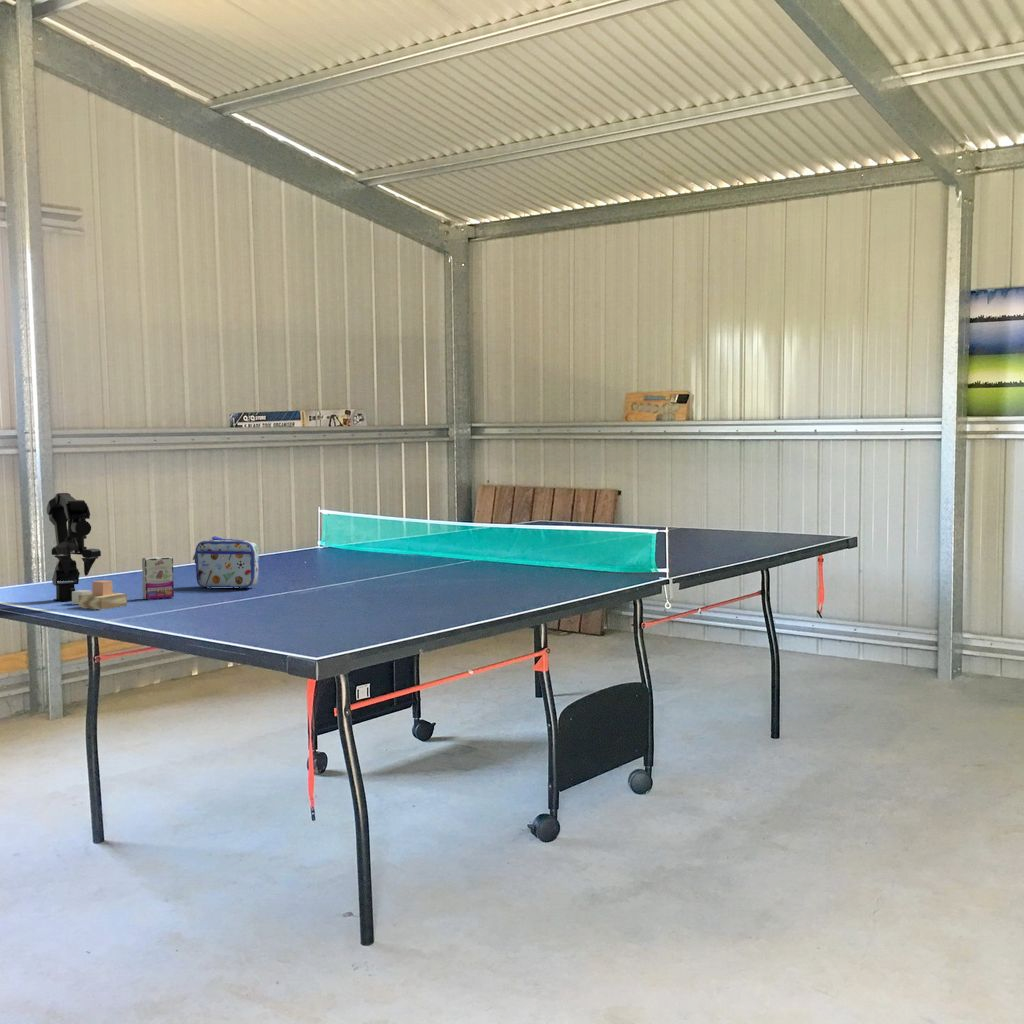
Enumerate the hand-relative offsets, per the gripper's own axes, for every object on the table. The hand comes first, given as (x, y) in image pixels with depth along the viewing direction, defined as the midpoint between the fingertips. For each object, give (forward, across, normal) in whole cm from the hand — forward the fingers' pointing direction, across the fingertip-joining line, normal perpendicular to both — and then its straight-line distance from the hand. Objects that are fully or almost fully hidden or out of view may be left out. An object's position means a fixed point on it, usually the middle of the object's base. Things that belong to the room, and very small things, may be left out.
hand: (76, 574), depth 405 cm
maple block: (+12, +10, +2) cm, 16 cm away
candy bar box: (+12, +15, +28) cm, 34 cm away
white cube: (+12, -2, +4) cm, 13 cm away
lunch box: (+12, +21, +65) cm, 69 cm away
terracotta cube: (+7, +10, +2) cm, 13 cm away
